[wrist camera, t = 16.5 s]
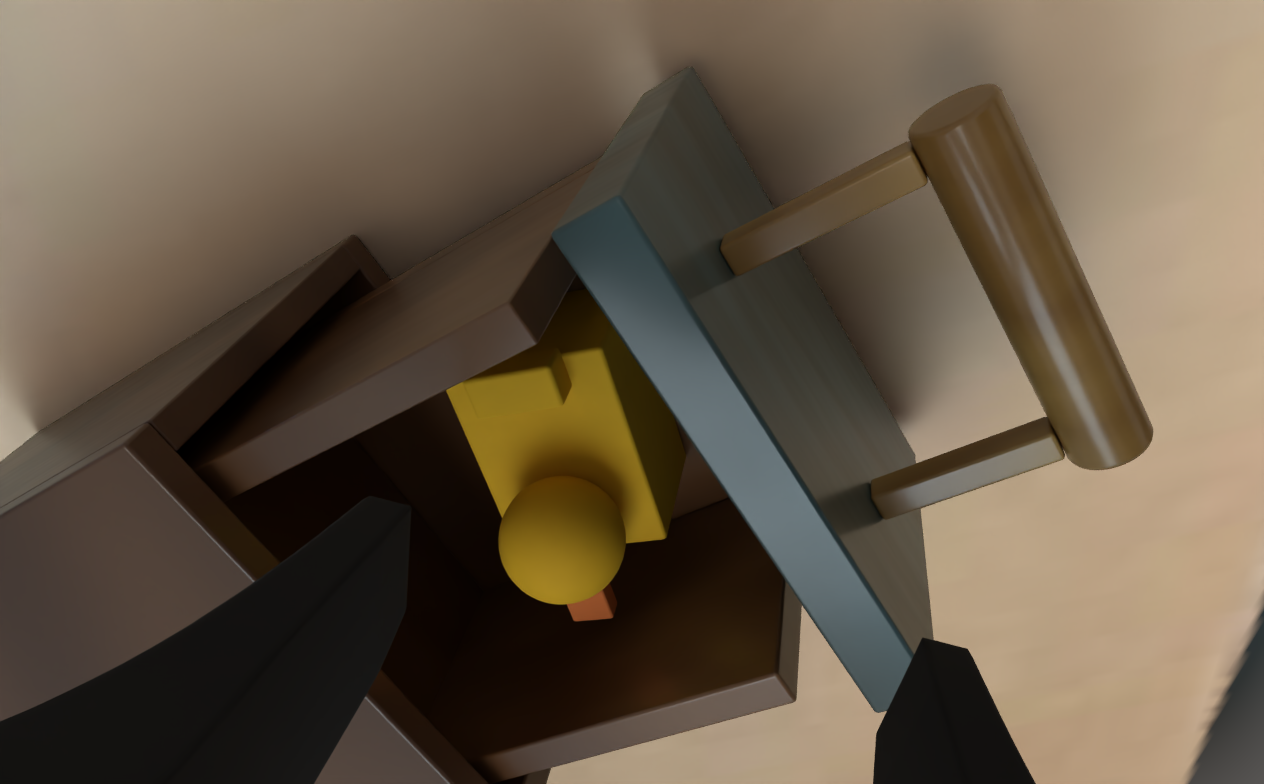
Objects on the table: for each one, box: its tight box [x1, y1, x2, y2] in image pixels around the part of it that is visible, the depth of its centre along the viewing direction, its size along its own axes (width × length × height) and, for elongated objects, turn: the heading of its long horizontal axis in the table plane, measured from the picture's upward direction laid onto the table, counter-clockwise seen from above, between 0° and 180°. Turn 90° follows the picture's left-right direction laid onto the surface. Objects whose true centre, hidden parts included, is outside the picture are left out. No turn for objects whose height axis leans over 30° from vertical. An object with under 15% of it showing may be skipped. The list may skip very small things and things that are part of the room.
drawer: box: [176, 67, 1153, 784], centre depth 19 cm, size 17×10×7 cm, turn 123°
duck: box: [446, 289, 686, 621], centre depth 20 cm, size 6×3×5 cm, turn 17°
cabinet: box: [0, 235, 551, 784], centre depth 24 cm, size 13×11×9 cm
